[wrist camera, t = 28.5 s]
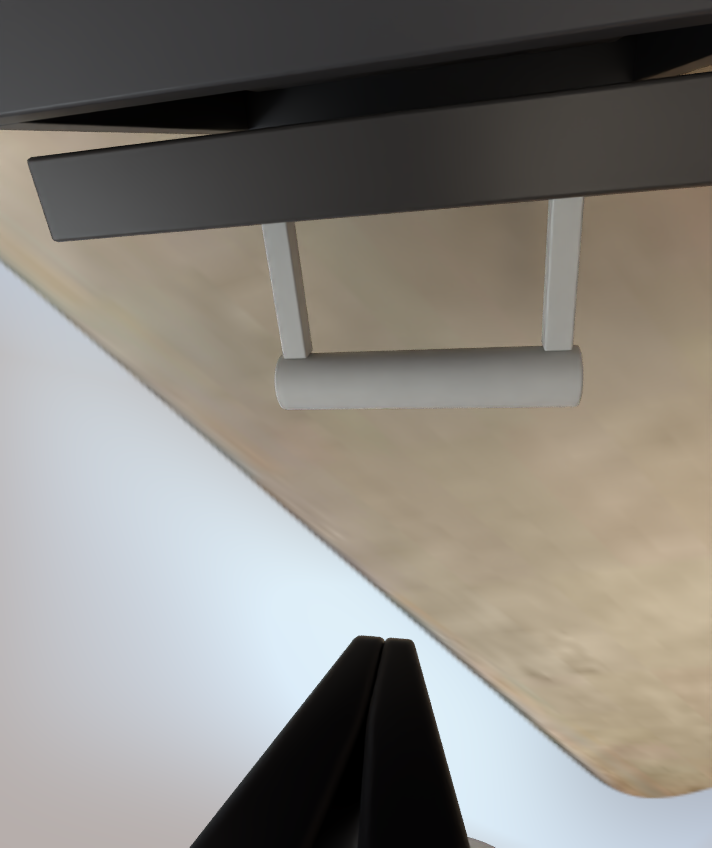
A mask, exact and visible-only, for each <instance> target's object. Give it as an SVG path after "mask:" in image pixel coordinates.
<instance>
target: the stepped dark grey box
mask: <svg viewBox="0 0 712 848" xmlns="http://www.w3.org/2000/svg"><path fill="white" fill-rule="evenodd" d="M621 36H623V37H622V38H620V39H619V40H617V41H615V42H608V43H601V44H594V45H587V46H580V47H573V48H566V49H559V50H552V51H545V52H538V53H530V54H523V55H516V56H509V57H502V58H495V59H488V60H481V61H474V62H467V63H460V64H453V65H446V66H439V67H431V68H424V69H417V70H410V71H403V72H396V73H389V74H382V75H375V76H368V77H361V78H354V79H347V80H340V81H333V82H325V83H318V84H311V85H304V86H297V87H290V88H283V89H276V90H269V91H262V92H253V91H249V90H250V89H257V88H264V87H271V86H278V85H285V84H292V83H299V82H306V81H313V80H320V79H327V78H334V77H341V76H348V75H355V74H362V73H369V72H376V71H383V70H390V69H397V68H404V67H411V66H418V65H425V64H432V63H439V62H446V61H453V60H460V59H467V58H474V57H481V56H488V55H495V54H502V53H509V52H516V51H523V50H530V49H537V48H544V47H551V46H558V45H565V44H572V43H579V42H586V41H593V40H600V39H607V38H614V37H621ZM709 65H712V0H0V130H33V131H79V132H124V133H170V134H220V133H228V132H236V131H244V130H252V129H259V128H267V127H275V126H283V125H291V124H299V123H307V122H315V121H323V120H331V119H339V118H347V117H355V116H362V115H370V114H378V113H386V112H394V111H402V110H410V109H418V108H426V107H434V106H442V105H450V104H458V103H466V102H473V101H481V100H489V99H497V98H505V97H513V96H521V95H529V94H537V93H545V92H553V91H561V90H569V89H576V88H584V87H592V86H600V85H608V84H616V83H624V82H632V81H640V80H648V79H656V78H664V77H672V76H678V75H681V74H684V73H688V72H691V71H694V70H697V69H700V68H703V67H706V66H709Z"/></svg>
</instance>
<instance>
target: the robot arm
mask: <svg viewBox="0 0 712 848" xmlns="http://www.w3.org/2000/svg"><path fill="white" fill-rule="evenodd" d="M190 848H470V844H469V841H468V837H467V833H466V830H465V826H464V822H463V819H462V815H461V811H460V808H459V804H458V801H457V797H456V793H455V790H454V786H453V782H452V779H451V775H450V771H449V768H448V764H447V761H446V757H445V754H444V750H443V746H442V742H441V739H440V735H439V731H438V728H437V724H436V721H435V717H434V713H433V710H432V706H431V702H430V699H429V695H428V692H427V688H426V684H425V681H424V677H423V673H422V670H421V666H420V663H419V659H418V655H417V652H416V648H415V645H414V642H413V641H412V640H409V639H399V638H388V639H386V641H384V639H383V638H381V637H374V636H357V637H356V638H355V639H354V640H353V641H352V642H351V643H350V645H349V646H348V647H347V649H346V650H345V651H344V652H343V654H342V655H341V656H340V657H339V659H338V660H337V661H336V662H335V664H334V665H333V666H332V668H331V669H330V670H329V671H328V673H327V674H326V675H325V676H324V678H323V679H322V680H321V682H320V683H319V684H318V685H317V687H316V688H315V689H314V690H313V692H312V693H311V694H310V695H309V697H308V698H307V699H306V700H305V702H304V703H303V704H302V706H301V707H300V708H299V709H298V711H297V712H296V713H295V715H294V716H293V717H292V718H291V719H290V721H289V722H288V723H287V725H286V726H285V727H284V728H283V730H282V731H281V732H280V733H279V735H278V736H277V737H276V739H275V740H274V741H273V743H272V744H271V745H270V746H269V748H268V749H267V750H266V751H265V753H264V754H263V755H262V756H261V758H260V759H259V760H258V762H257V763H256V764H255V765H254V766H253V768H252V769H251V771H250V772H249V773H248V774H247V775H246V777H245V778H244V779H243V780H242V782H241V783H240V784H239V786H238V787H237V788H236V789H235V791H234V792H233V793H232V795H231V796H230V797H229V798H228V800H227V801H226V802H225V803H224V805H223V806H222V807H221V808H220V810H219V811H218V812H217V813H216V815H215V816H214V817H213V819H212V820H211V821H210V822H209V824H208V825H207V826H206V827H205V829H204V830H203V831H202V832H201V834H200V835H199V836H198V838H197V839H196V840H195V841H194V843H193V844H192V845H191V846H190Z"/></svg>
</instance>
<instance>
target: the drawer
mask: <svg viewBox="0 0 712 848" xmlns="http://www.w3.org/2000/svg"><path fill="white" fill-rule="evenodd" d="M622 37H623V36H621V37H614V38H607V39H600V40H593V41H586V42H579V43H572V44H565V45H558V46H551V47H544V48H537V49H530V50H523V51H516V52H509V53H502V54H495V55H488V56H481V57H474V58H467V59H460V60H453V61H446V62H439V63H432V64H425V65H418V66H411V67H404V68H397V69H390V70H383V71H376V72H369V73H362V74H355V75H348V76H341V77H334V78H327V79H320V80H313V81H306V82H299V83H292V84H285V85H278V86H271V87H264V88H257V89H250V90H249V91H253V92H262V91H269V90H276V89H283V88H290V87H297V86H304V85H311V84H318V83H325V82H333V81H340V80H347V79H354V78H361V77H368V76H375V75H382V74H389V73H396V72H403V71H410V70H417V69H424V68H431V67H439V66H446V65H453V64H460V63H467V62H474V61H481V60H488V59H495V58H502V57H509V56H516V55H523V54H530V53H538V52H545V51H552V50H559V49H566V48H573V47H580V46H587V45H594V44H601V43H608V42H615V41H617V40H619V39H620V38H622ZM27 161H28V166H29V169H30V172H31V175H32V178H33V181H34V184H35V187H36V190H37V193H38V196H39V199H40V202H41V205H42V208H43V212H44V215H45V218H46V221H47V224H48V227H49V230H50V233H51V236H52V239H53V240H54V241H57V242H64V241H76V240H88V239H99V238H111V237H122V236H134V235H146V234H157V233H169V232H180V231H192V230H204V229H215V228H227V227H238V226H250V225H262V231H263V237H264V243H265V249H266V255H267V261H268V267H269V273H270V279H271V285H272V291H273V297H274V303H275V309H276V315H277V321H278V327H279V333H280V339H281V345H282V351H283V355H281V356H280V357H279V359H278V361H277V365H276V370H275V390H276V396H277V399H278V402H279V404H280V406H281V407H282V408H283V409H286V410H306V409H414V408H522V407H576V406H578V405H579V403H580V400H581V396H582V390H583V359H582V353H581V350H580V347H579V346H578V345H573V339H574V326H575V313H576V300H577V287H578V274H579V261H580V249H581V236H582V223H583V210H584V197H586V196H598V195H610V194H621V193H633V192H644V191H656V190H668V189H679V188H691V187H702V186H712V71H711V72H703V73H695V74H687V75H679V76H672V77H664V78H656V79H648V80H640V81H632V82H624V83H616V84H608V85H600V86H592V87H584V88H576V89H569V90H561V91H553V92H545V93H537V94H529V95H521V96H513V97H505V98H497V99H489V100H481V101H473V102H466V103H458V104H450V105H442V106H434V107H426V108H418V109H410V110H402V111H394V112H386V113H378V114H370V115H362V116H355V117H347V118H339V119H331V120H323V121H315V122H307V123H299V124H291V125H283V126H275V127H267V128H259V129H252V130H244V131H236V132H228V133H220V134H212V135H204V136H196V137H188V138H180V139H172V140H164V141H156V142H149V143H141V144H133V145H125V146H117V147H109V148H101V149H93V150H85V151H77V152H69V153H61V154H53V155H46V156H38V157H31V158H29V159H28V160H27ZM540 200H549V203H548V223H547V242H546V262H545V282H544V301H543V321H542V340H541V342H542V345H543V346H522V347H490V348H459V349H428V350H397V351H366V352H335V353H311V352H312V342H311V335H310V328H309V321H308V314H307V307H306V300H305V293H304V286H303V279H302V272H301V264H300V257H299V250H298V243H297V236H296V229H295V222H296V221H308V220H320V219H331V218H343V217H354V216H366V215H378V214H389V213H401V212H412V211H424V210H436V209H447V208H459V207H470V206H482V205H494V204H505V203H517V202H528V201H540Z"/></svg>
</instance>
